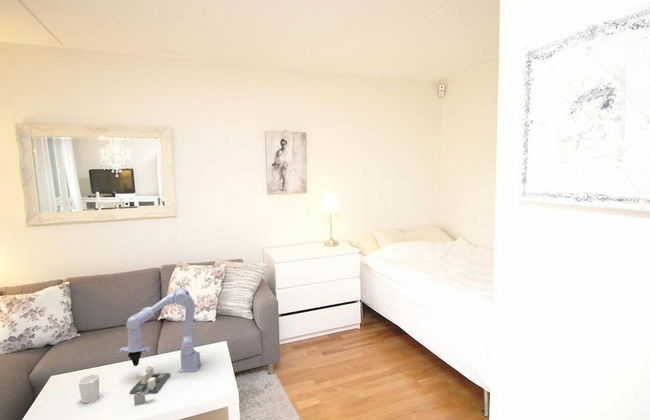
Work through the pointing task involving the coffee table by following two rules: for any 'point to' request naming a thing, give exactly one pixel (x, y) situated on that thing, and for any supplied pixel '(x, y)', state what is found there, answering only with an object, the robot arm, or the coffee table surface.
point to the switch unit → (139, 387)
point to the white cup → (89, 388)
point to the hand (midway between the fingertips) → (136, 365)
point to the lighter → (141, 396)
